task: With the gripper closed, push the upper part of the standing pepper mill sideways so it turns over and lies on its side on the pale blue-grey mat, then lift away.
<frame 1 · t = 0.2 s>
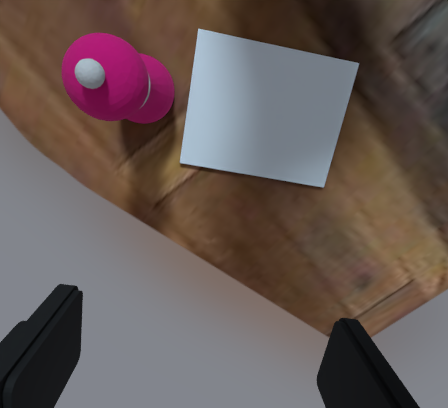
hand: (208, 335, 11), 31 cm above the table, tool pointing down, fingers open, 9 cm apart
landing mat: (265, 114, 39), on the table
pepper mill: (149, 92, 37), on the table
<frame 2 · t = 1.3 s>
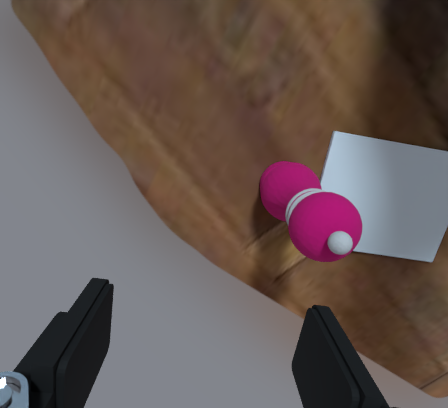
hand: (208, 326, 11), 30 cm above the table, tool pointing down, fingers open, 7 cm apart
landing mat: (385, 200, 42), on the table
pepper mill: (281, 183, 41), on the table
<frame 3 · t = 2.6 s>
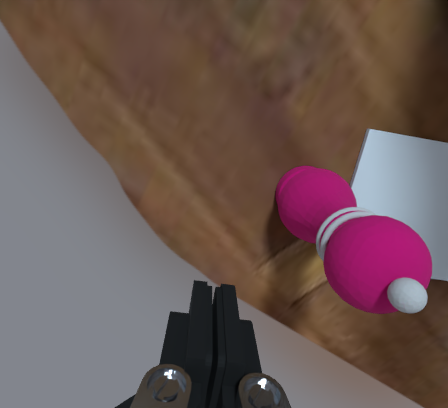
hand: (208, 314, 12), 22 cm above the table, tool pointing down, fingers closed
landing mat: (426, 212, 35), on the table
pepper mill: (302, 192, 34), on the table
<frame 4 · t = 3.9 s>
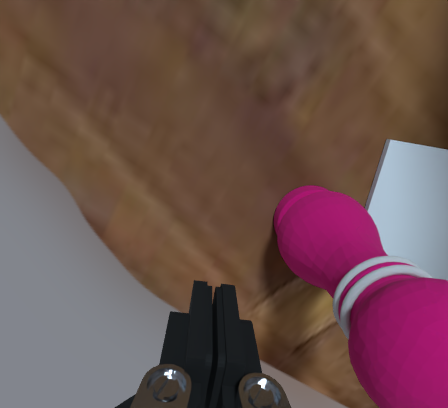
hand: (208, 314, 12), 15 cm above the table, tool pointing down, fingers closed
pepper mill: (306, 217, 27), on the table
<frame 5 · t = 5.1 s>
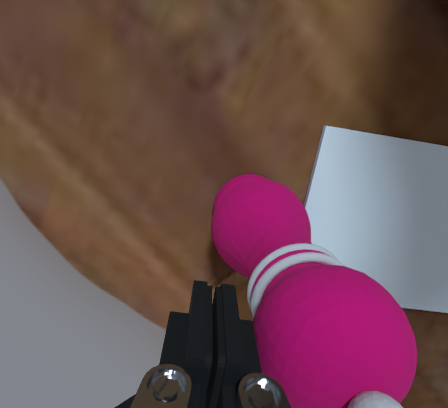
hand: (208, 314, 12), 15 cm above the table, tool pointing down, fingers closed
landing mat: (403, 229, 28), on the table
pepper mill: (247, 207, 27), on the table, touching gripper
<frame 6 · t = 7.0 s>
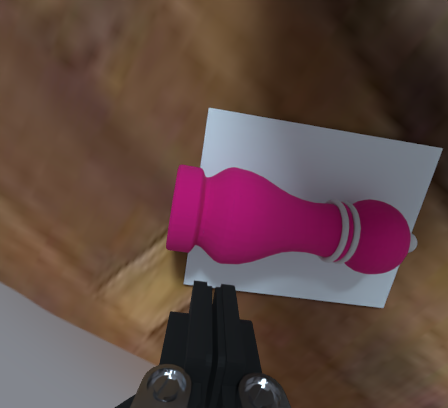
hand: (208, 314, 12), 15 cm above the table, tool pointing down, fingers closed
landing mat: (304, 217, 27), on the table
pepper mill: (169, 206, 22), point 4 cm above the table, touching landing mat
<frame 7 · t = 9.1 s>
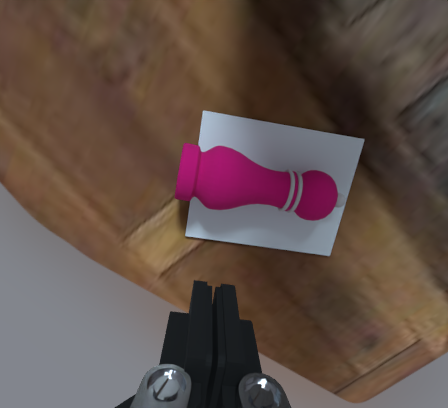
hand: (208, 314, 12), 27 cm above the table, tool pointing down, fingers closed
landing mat: (270, 188, 39), on the table
pepper mill: (177, 170, 33), point 4 cm above the table, touching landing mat
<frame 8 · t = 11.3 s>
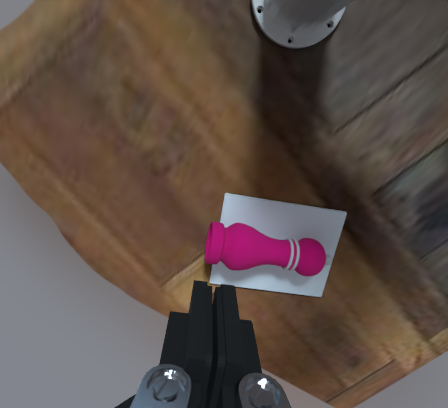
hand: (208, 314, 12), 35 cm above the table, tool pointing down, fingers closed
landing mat: (275, 247, 50), on the table
pepper mill: (207, 241, 45), point 4 cm above the table, touching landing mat
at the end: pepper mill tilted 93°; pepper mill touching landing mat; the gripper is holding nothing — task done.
